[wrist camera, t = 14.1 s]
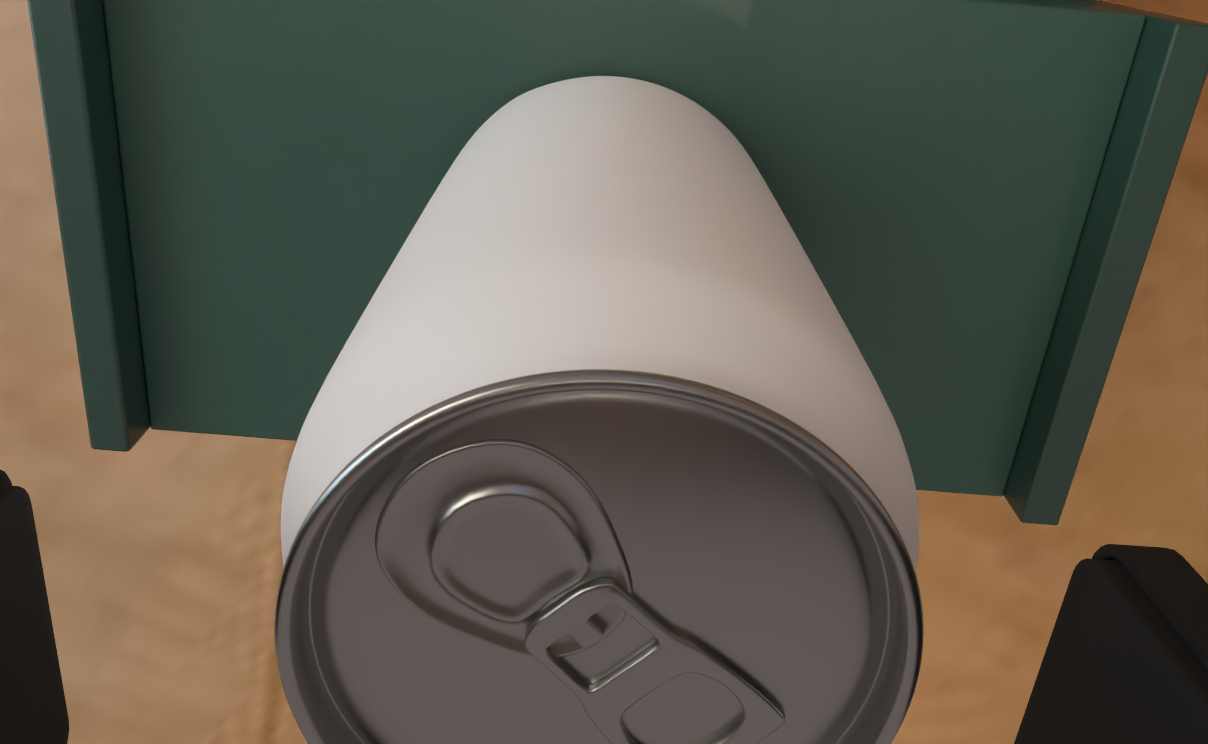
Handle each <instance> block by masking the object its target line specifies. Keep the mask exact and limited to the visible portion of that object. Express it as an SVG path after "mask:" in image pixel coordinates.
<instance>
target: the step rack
mask: <svg viewBox="0 0 1208 744" xmlns="http://www.w3.org/2000/svg"><path fill="white" fill-rule="evenodd" d="M28 7H29V14H30V21H31V28H32V35H33V42H34V49H35V56H36V63H37V70H38V77H39V84H40V91H41V98H42V105H43V112H44V119H45V126H46V133H47V140H48V147H49V154H50V161H51V168H52V175H53V182H54V190H55V197H56V204H57V211H58V218H59V225H60V232H61V239H62V246H63V253H64V260H65V267H66V274H67V281H68V288H69V295H70V302H71V309H72V316H73V323H74V330H75V337H76V344H77V351H78V358H79V365H80V372H81V379H82V386H83V393H84V400H85V407H86V414H87V421H88V428H89V435H90V442H91V447H92V448H93V449H100V450H112V451H129V450H131V448H132V447H133V446H134V445H135V444H136V443H137V442H138V440H139V439H140V438H141V437H142V436H143V435H144V433H145V432H146V431H147V430H148V429H149V428H150V427H151V428H152V429H157V430H169V431H182V432H195V433H207V434H220V435H233V436H245V437H258V438H270V439H283V440H296V441H297V439H298V437H299V434H300V431H301V429H302V426H303V424H304V421H305V419H306V417H307V415H308V412H309V411H310V409H311V407H312V405H313V403H314V401H315V399H316V397H317V395H318V393H319V391H320V389H321V387H322V385H323V383H324V381H325V379H326V377H327V375H328V374H329V372H330V370H331V368H332V366H333V365H334V363H335V361H336V359H337V358H338V356H339V354H340V352H341V351H342V349H343V347H344V345H345V343H346V342H347V340H348V338H349V336H350V335H351V333H352V331H353V330H354V328H355V326H356V324H357V323H358V321H359V319H360V318H361V316H362V314H363V312H364V311H365V309H366V307H367V306H368V304H369V302H370V300H371V299H372V297H373V295H374V293H375V292H376V290H377V288H378V287H379V285H380V283H381V282H382V280H383V278H384V276H385V275H386V273H387V271H388V270H389V268H390V266H391V265H392V263H393V261H394V260H395V258H396V256H397V254H398V253H399V251H400V249H401V248H402V246H403V244H404V243H405V241H406V239H407V238H408V236H409V234H410V233H411V231H412V229H413V228H414V226H415V224H416V222H417V221H418V219H419V217H420V216H421V214H422V212H423V211H424V209H425V207H426V206H427V204H428V202H429V201H430V199H431V198H432V196H433V194H434V193H435V191H436V189H437V188H438V186H439V184H440V183H441V181H442V179H443V178H444V176H445V175H446V173H447V172H448V170H449V168H450V167H451V165H452V164H453V162H454V161H455V159H456V158H457V156H458V155H459V153H460V152H461V151H462V149H463V148H464V146H465V145H466V144H467V142H468V141H469V140H470V138H471V137H472V136H473V135H474V134H475V132H476V131H477V130H478V129H479V128H480V127H481V126H482V125H483V124H484V123H485V122H486V121H487V120H488V119H489V118H490V117H491V116H492V115H493V114H494V113H495V112H497V111H498V110H499V109H500V108H502V107H503V106H504V105H506V104H507V103H508V102H510V101H511V100H513V99H515V98H516V97H518V96H520V95H522V94H524V93H526V92H528V91H530V90H533V89H535V88H538V87H541V86H544V85H547V84H551V83H555V82H559V81H563V80H568V79H573V78H579V77H588V76H617V77H626V78H633V79H638V80H643V81H647V82H650V83H654V84H657V85H660V86H663V87H665V88H668V89H670V90H673V91H675V92H677V93H679V94H681V95H683V96H685V97H687V98H689V99H690V100H692V101H694V102H695V103H697V104H698V105H700V106H701V107H703V108H704V109H706V110H707V111H708V112H710V113H711V114H712V115H713V116H714V117H716V118H717V119H718V120H719V121H720V122H721V123H722V124H723V125H724V126H725V127H726V128H727V129H728V130H729V131H730V132H731V133H732V134H733V135H734V136H735V137H736V139H737V140H738V141H739V142H740V144H741V145H742V146H743V148H744V149H745V151H746V152H747V153H748V155H749V156H750V158H751V159H752V161H753V162H754V164H755V166H756V167H757V169H758V171H759V172H760V174H761V176H762V177H763V179H764V181H765V182H766V184H767V186H768V188H769V189H770V191H771V193H772V195H773V196H774V198H775V200H776V201H777V203H778V205H779V207H780V208H781V210H782V212H783V214H784V216H785V217H786V219H787V221H788V223H789V224H790V226H791V228H792V230H793V231H794V233H795V235H796V237H797V239H798V240H799V242H800V244H801V246H802V247H803V249H804V251H805V253H806V255H807V256H808V258H809V260H810V262H811V264H812V265H813V267H814V269H815V271H816V272H817V274H818V276H819V278H820V280H821V281H822V283H823V285H824V287H825V289H826V290H827V292H828V294H829V296H830V298H831V299H832V301H833V303H834V305H835V307H836V309H837V310H838V312H839V314H840V316H841V318H842V319H843V321H844V323H845V325H846V327H847V329H848V330H849V332H850V334H851V336H852V338H853V339H854V341H855V343H856V345H857V347H858V349H859V351H860V352H861V354H862V356H863V358H864V360H865V362H866V364H867V365H868V367H869V369H870V371H871V373H872V375H873V377H874V379H875V380H876V382H877V384H878V386H879V389H880V391H881V393H882V395H883V397H884V399H885V401H886V403H887V405H888V407H889V409H890V411H891V414H892V416H893V418H894V420H895V422H896V425H897V427H898V429H899V432H900V435H901V437H902V440H903V443H904V446H905V449H906V453H907V456H908V459H909V463H910V466H911V470H912V473H913V478H914V482H915V487H916V490H927V491H940V492H953V493H965V494H978V495H990V496H1003V495H1004V497H1005V498H1006V500H1007V501H1008V503H1009V504H1010V506H1011V507H1012V509H1013V510H1014V512H1015V513H1016V515H1017V516H1018V518H1019V519H1020V521H1021V522H1023V523H1035V524H1048V525H1057V524H1058V522H1059V519H1060V516H1061V513H1062V510H1063V507H1064V504H1065V501H1066V498H1067V495H1068V492H1069V489H1070V486H1071V483H1072V480H1073V477H1074V474H1075V471H1076V468H1077V465H1078V462H1079V459H1080V456H1081V453H1082V450H1083V447H1084V444H1085V441H1086V438H1087V435H1088V432H1089V429H1090V426H1091V423H1092V420H1093V417H1094V414H1095V411H1096V408H1097V405H1098V402H1099V399H1100V396H1101V393H1102V390H1103V387H1104V383H1105V380H1106V377H1107V374H1108V371H1109V368H1110V365H1111V362H1112V359H1113V356H1114V353H1115V350H1116V347H1117V344H1118V341H1119V338H1120V335H1121V332H1122V329H1123V326H1124V323H1125V320H1126V317H1127V314H1128V311H1129V308H1130V305H1131V302H1132V299H1133V296H1134V293H1135V290H1136V287H1137V284H1138V281H1139V278H1140V275H1141V272H1142V269H1143V266H1144V263H1145V260H1146V257H1147V254H1148V251H1149V248H1150V245H1151V242H1152V239H1153V236H1154V233H1155V229H1156V226H1157V223H1158V220H1159V217H1160V214H1161V211H1162V208H1163V205H1164V202H1165V199H1166V196H1167V193H1168V190H1169V187H1170V184H1171V181H1172V178H1173V175H1174V172H1175V169H1176V166H1177V163H1178V160H1179V157H1180V154H1181V151H1182V148H1183V145H1184V142H1185V139H1186V136H1187V133H1188V130H1189V127H1190V124H1191V121H1192V118H1193V115H1194V112H1195V109H1196V106H1197V103H1198V100H1199V97H1200V94H1201V91H1202V88H1203V85H1204V82H1205V78H1206V75H1207V72H1208V23H1203V22H1198V21H1193V20H1188V19H1183V18H1179V17H1174V16H1169V15H1164V14H1159V13H1155V12H1150V11H1145V10H1140V9H1135V8H1130V7H1126V6H1121V5H1116V4H1111V3H1106V2H1101V1H1097V0H28Z"/></svg>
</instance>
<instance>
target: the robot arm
mask: <svg viewBox="0 0 1208 744" xmlns="http://www.w3.org/2000/svg"><path fill="white" fill-rule="evenodd" d="M68 734H69V719H68V713H67V707H66V701H65V696H64V690H63V684H62V678H61V673H60V667H59V661H58V655H57V649H56V644H55V638H54V632H53V626H52V620H51V615H50V609H49V603H48V597H47V591H46V586H45V580H44V574H43V568H42V563H41V557H40V551H39V545H38V539H37V534H36V528H35V522H34V516H33V510H32V505H31V501H30V497H29V495H28V493H27V492H26V490H25V489H23V488H22V487H20V486H12V484H11V480H10V479H9V477H8V476H7V474H6V473H5V472H4V471H2V470H0V744H67V741H68ZM1014 744H1208V584H1207V583H1206V582H1205V581H1204V579H1203V578H1202V577H1201V576H1200V575H1199V574H1198V573H1197V572H1196V571H1195V570H1194V568H1193V567H1192V566H1191V565H1190V564H1189V563H1188V562H1187V561H1186V560H1185V559H1184V557H1183V556H1181V555H1180V554H1179V553H1177V552H1176V551H1175V550H1172V549H1168V548H1159V547H1145V546H1130V545H1116V544H1107V545H1104V546H1102V547H1100V548H1099V549H1098V550H1097V551H1096V552H1095V553H1094V555H1093V557H1092V559H1088V558H1087V559H1084V560H1081V561H1080V562H1079V563H1078V564H1077V565H1076V567H1075V569H1074V571H1073V574H1072V576H1071V579H1070V582H1069V585H1068V588H1067V591H1066V594H1065V597H1064V600H1063V603H1062V606H1061V609H1060V611H1059V614H1058V617H1057V620H1056V623H1055V626H1054V629H1053V632H1052V635H1051V638H1050V641H1049V644H1048V646H1047V649H1046V652H1045V655H1044V658H1043V661H1042V664H1041V667H1040V670H1039V673H1038V676H1037V679H1036V681H1035V684H1034V687H1033V690H1032V693H1031V696H1030V699H1029V702H1028V705H1027V708H1026V711H1025V714H1024V716H1023V719H1022V722H1021V725H1020V728H1019V731H1018V734H1017V737H1016V740H1015V743H1014Z"/></svg>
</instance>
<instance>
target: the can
mask: <svg viewBox="0 0 1208 744" xmlns="http://www.w3.org/2000/svg"><path fill="white" fill-rule="evenodd" d="M281 545H282V557H283V566H284V568H283V571H282V575H281V579H280V583H279V588H278V594H277V601H276V608H275V649H276V657H277V663H278V669H279V674H280V678H281V682H282V686H283V689H284V692H285V695H286V698H287V701H288V704H289V706H290V709H291V711H292V713H293V716H294V718H295V720H296V722H297V724H298V726H299V728H300V730H301V732H302V734H303V735H304V737H305V739H306V741H307V742H308V744H891V742H892V741H893V739H894V737H895V735H896V734H897V732H898V730H899V728H900V726H901V724H902V722H903V720H904V718H905V715H906V713H907V710H908V708H909V706H910V703H911V700H912V697H913V694H914V691H915V687H916V683H917V680H918V675H919V671H920V665H921V659H922V649H923V612H922V602H921V596H920V590H919V586H918V581H917V577H916V574H915V572H916V566H917V557H918V545H919V510H918V500H917V493H916V487H915V482H914V478H913V473H912V470H911V466H910V463H909V459H908V456H907V453H906V449H905V446H904V443H903V440H902V437H901V435H900V432H899V429H898V427H897V425H896V422H895V420H894V418H893V416H892V414H891V411H890V409H889V407H888V405H887V403H886V401H885V399H884V397H883V395H882V393H881V391H880V389H879V386H878V384H877V382H876V380H875V379H874V377H873V375H872V373H871V371H870V369H869V367H868V365H867V364H866V362H865V360H864V358H863V356H862V354H861V352H860V351H859V349H858V347H857V345H856V343H855V341H854V339H853V338H852V336H851V334H850V332H849V330H848V329H847V327H846V325H845V323H844V321H843V319H842V318H841V316H840V314H839V312H838V310H837V309H836V307H835V305H834V303H833V301H832V299H831V298H830V296H829V294H828V292H827V290H826V289H825V287H824V285H823V283H822V281H821V280H820V278H819V276H818V274H817V272H816V271H815V269H814V267H813V265H812V264H811V262H810V260H809V258H808V256H807V255H806V253H805V251H804V249H803V247H802V246H801V244H800V242H799V240H798V239H797V237H796V235H795V233H794V231H793V230H792V228H791V226H790V224H789V223H788V221H787V219H786V217H785V216H784V214H783V212H782V210H781V208H780V207H779V205H778V203H777V201H776V200H775V198H774V196H773V195H772V193H771V191H770V189H769V188H768V186H767V184H766V182H765V181H764V179H763V177H762V176H761V174H760V172H759V171H758V169H757V167H756V166H755V164H754V162H753V161H752V159H751V158H750V156H749V155H748V153H747V152H746V151H745V149H744V148H743V146H742V145H741V144H740V142H739V141H738V140H737V139H736V137H735V136H734V135H733V134H732V133H731V132H730V131H729V130H728V129H727V128H726V127H725V126H724V125H723V124H722V123H721V122H720V121H719V120H718V119H717V118H716V117H714V116H713V115H712V114H711V113H710V112H708V111H707V110H706V109H704V108H703V107H701V106H700V105H698V104H697V103H695V102H694V101H692V100H690V99H689V98H687V97H685V96H683V95H681V94H679V93H677V92H675V91H673V90H670V89H668V88H665V87H663V86H660V85H657V84H654V83H650V82H647V81H643V80H638V79H633V78H626V77H617V76H588V77H579V78H573V79H568V80H563V81H559V82H555V83H551V84H547V85H544V86H541V87H538V88H535V89H533V90H530V91H528V92H526V93H524V94H522V95H520V96H518V97H516V98H515V99H513V100H511V101H510V102H508V103H507V104H506V105H504V106H503V107H502V108H500V109H499V110H498V111H497V112H495V113H494V114H493V115H492V116H491V117H490V118H489V119H488V120H487V121H486V122H485V123H484V124H483V125H482V126H481V127H480V128H479V129H478V130H477V131H476V132H475V134H474V135H473V136H472V137H471V138H470V140H469V141H468V142H467V144H466V145H465V146H464V148H463V149H462V151H461V152H460V153H459V155H458V156H457V158H456V159H455V161H454V162H453V164H452V165H451V167H450V168H449V170H448V172H447V173H446V175H445V176H444V178H443V179H442V181H441V183H440V184H439V186H438V188H437V189H436V191H435V193H434V194H433V196H432V198H431V199H430V201H429V202H428V204H427V206H426V207H425V209H424V211H423V212H422V214H421V216H420V217H419V219H418V221H417V222H416V224H415V226H414V228H413V229H412V231H411V233H410V234H409V236H408V238H407V239H406V241H405V243H404V244H403V246H402V248H401V249H400V251H399V253H398V254H397V256H396V258H395V260H394V261H393V263H392V265H391V266H390V268H389V270H388V271H387V273H386V275H385V276H384V278H383V280H382V282H381V283H380V285H379V287H378V288H377V290H376V292H375V293H374V295H373V297H372V299H371V300H370V302H369V304H368V306H367V307H366V309H365V311H364V312H363V314H362V316H361V318H360V319H359V321H358V323H357V324H356V326H355V328H354V330H353V331H352V333H351V335H350V336H349V338H348V340H347V342H346V343H345V345H344V347H343V349H342V351H341V352H340V354H339V356H338V358H337V359H336V361H335V363H334V365H333V366H332V368H331V370H330V372H329V374H328V375H327V377H326V379H325V381H324V383H323V385H322V387H321V389H320V391H319V393H318V395H317V397H316V399H315V401H314V403H313V405H312V407H311V409H310V411H309V412H308V415H307V417H306V419H305V421H304V424H303V426H302V429H301V431H300V434H299V437H298V439H297V442H296V445H295V448H294V451H293V455H292V458H291V461H290V464H289V468H288V472H287V476H286V480H285V486H284V491H283V499H282V508H281Z"/></svg>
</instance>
